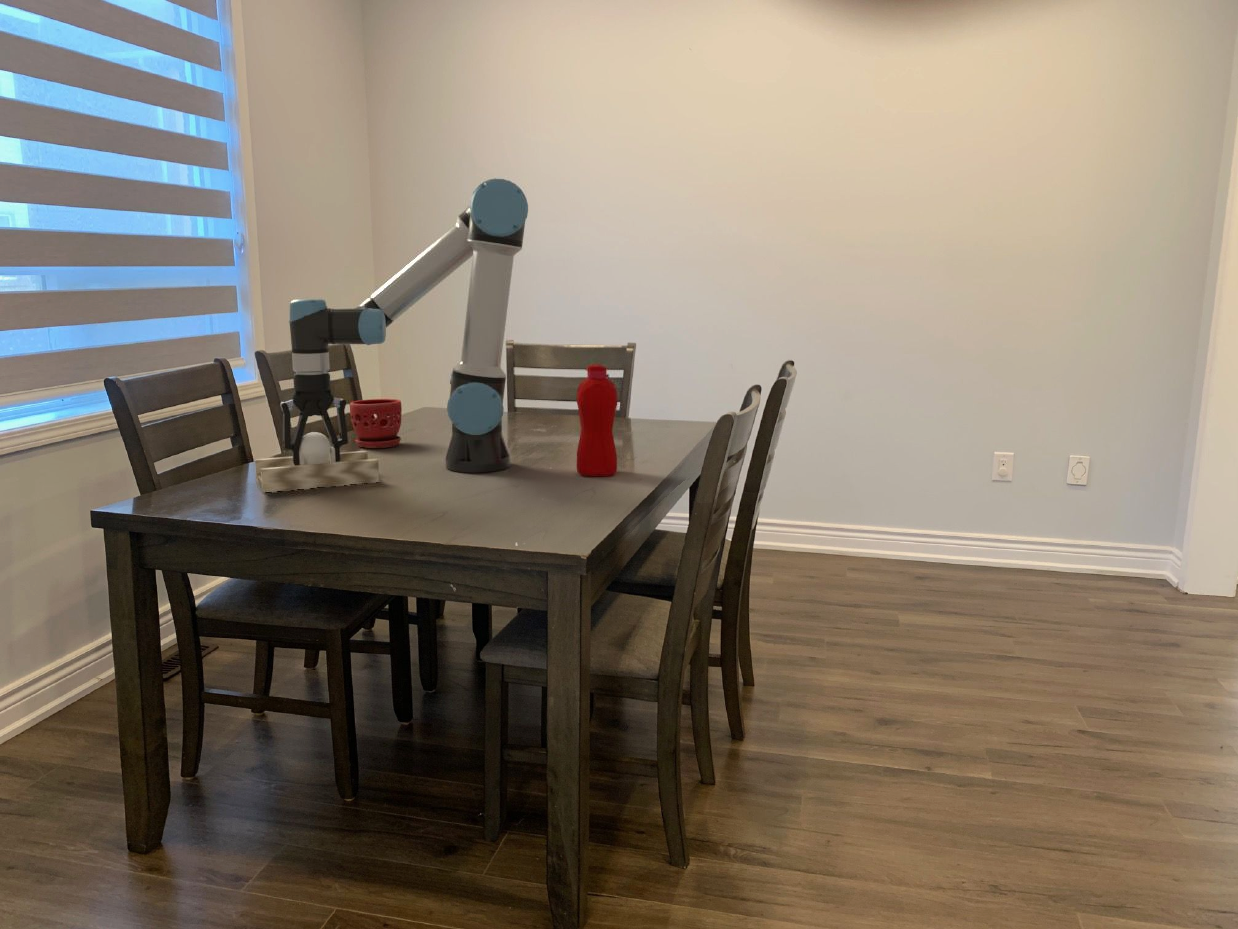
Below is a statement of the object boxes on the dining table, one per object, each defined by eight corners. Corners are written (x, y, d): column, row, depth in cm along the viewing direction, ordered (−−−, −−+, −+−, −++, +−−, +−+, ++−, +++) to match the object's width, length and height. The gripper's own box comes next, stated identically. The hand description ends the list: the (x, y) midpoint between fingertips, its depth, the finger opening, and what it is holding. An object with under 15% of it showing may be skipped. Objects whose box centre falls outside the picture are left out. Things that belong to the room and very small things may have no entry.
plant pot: (410, 442, 256) (408, 398, 253) (390, 451, 243) (388, 404, 241) (365, 440, 258) (363, 396, 255) (343, 449, 245) (340, 403, 243)
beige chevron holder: (366, 471, 218) (365, 450, 217) (379, 482, 208) (378, 460, 207) (256, 481, 207) (254, 459, 206) (263, 493, 197) (261, 469, 196)
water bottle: (625, 477, 215) (626, 366, 210) (577, 477, 214) (577, 366, 209) (622, 469, 224) (623, 362, 219) (576, 469, 223) (576, 362, 218)
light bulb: (296, 482, 207) (291, 433, 205) (323, 476, 212) (319, 428, 210) (312, 487, 203) (307, 436, 200) (339, 481, 208) (335, 431, 205)
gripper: (352, 368, 210) (358, 471, 215) (262, 372, 202) (269, 478, 206) (360, 372, 204) (365, 477, 208) (267, 376, 195) (274, 485, 200)
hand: (317, 478), depth 207 cm, fingers closed on light bulb, 6 cm apart
